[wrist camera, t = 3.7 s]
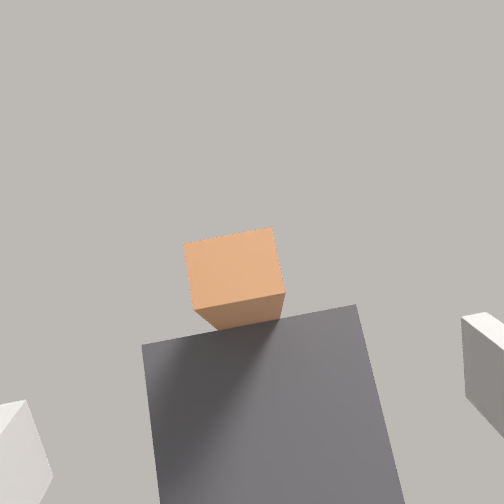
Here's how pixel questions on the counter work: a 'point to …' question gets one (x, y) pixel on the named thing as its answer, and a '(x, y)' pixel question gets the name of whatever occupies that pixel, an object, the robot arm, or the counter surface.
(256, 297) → the slat
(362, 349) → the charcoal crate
